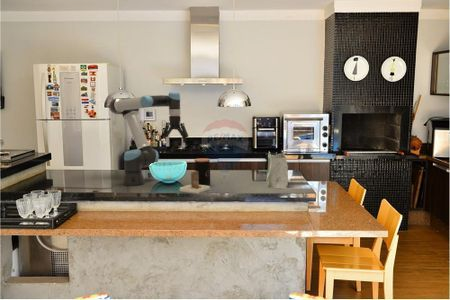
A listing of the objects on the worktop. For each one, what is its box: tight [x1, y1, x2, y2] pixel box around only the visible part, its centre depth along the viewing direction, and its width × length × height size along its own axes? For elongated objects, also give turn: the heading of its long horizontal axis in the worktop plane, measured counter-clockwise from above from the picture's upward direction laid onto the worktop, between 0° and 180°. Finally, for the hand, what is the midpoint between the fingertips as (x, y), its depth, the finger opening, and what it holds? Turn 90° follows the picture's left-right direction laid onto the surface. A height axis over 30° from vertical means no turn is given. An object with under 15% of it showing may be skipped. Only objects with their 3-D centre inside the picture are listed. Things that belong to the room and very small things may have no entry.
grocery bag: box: [265, 150, 289, 189], centre depth 307 cm, size 32×14×23 cm, turn 178°
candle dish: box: [179, 184, 211, 195], centre depth 286 cm, size 14×14×3 cm
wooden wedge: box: [190, 170, 199, 189], centre depth 285 cm, size 3×5×12 cm, turn 148°
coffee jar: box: [194, 157, 211, 186], centre depth 301 cm, size 11×11×18 cm
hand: (175, 147), depth 298 cm, fingers open, 13 cm apart
